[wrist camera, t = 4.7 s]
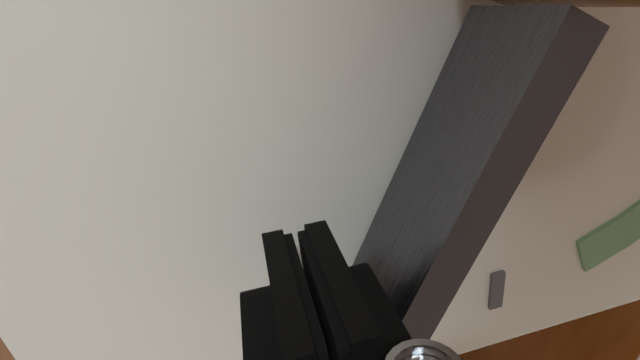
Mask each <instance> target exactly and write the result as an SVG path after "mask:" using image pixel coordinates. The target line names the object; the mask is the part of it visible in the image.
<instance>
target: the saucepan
mask: <svg viewBox="0 0 640 360" xmlns="http://www.w3.org/2000/svg"><path fill="white" fill-rule="evenodd" d="M492 1H495V2H497V3H499V4H502V5H471V6H470V9H469V11H468V13H467V15H466V17H465V19H464V22H463V24H462V26H461V28H460V30H459V33H458V35H457V37H456V39H455V41H454V44H453V46H452V48H451V50H450V52H449V55H448V57H447V59H446V61H445V63H444V65H443V68H442V70H441V72H440V74H439V76H438V79H437V81H436V83H435V85H434V87H433V90H432V92H431V94H430V96H429V98H428V101H427V103H426V105H425V107H424V109H423V111H422V114H421V116H420V118H419V120H418V122H417V125H416V127H415V129H414V131H413V133H412V136H411V138H410V140H409V142H408V144H407V147H406V149H405V151H404V153H403V155H402V157H401V160H400V162H399V164H398V166H397V168H396V171H395V173H394V175H393V177H392V179H391V182H390V184H389V186H388V188H387V190H386V193H385V195H384V197H383V199H382V201H381V203H380V206H379V208H378V210H377V212H376V214H375V217H374V219H373V221H372V223H371V225H370V228H369V230H368V232H367V234H366V236H365V239H364V241H363V243H362V245H361V247H360V249H359V252H358V254H357V256H356V258H355V260H354V263H353V265H357V264H361V263H368V264H369V266H370V267H371V269H372V271H373V272H374V274H375V276H376V277H377V279H378V281H379V283H380V284H381V286H382V288H383V289H384V291H385V293H386V295H387V296H388V298H389V300H390V301H391V303H392V305H393V307H394V308H395V310H396V312H397V313H398V315H399V317H400V319H401V320H402V322H403V324H404V326H405V327H406V329H407V331H408V332H409V334H410V336H411V338H412V339H429V340H430V338H431V337H432V335H433V333H434V331H435V330H436V328H437V326H438V324H439V323H440V321H441V319H442V317H443V316H444V314H445V312H446V310H447V309H448V307H449V305H450V304H451V302H452V300H453V298H454V297H455V295H456V293H457V291H458V290H459V288H460V286H461V284H462V283H463V281H464V279H465V277H466V276H467V274H468V272H469V271H470V269H471V267H472V265H473V264H474V262H475V260H476V258H477V257H478V255H479V253H480V251H481V250H482V248H483V246H484V245H485V243H486V241H487V239H488V238H489V236H490V234H491V232H492V231H493V229H494V227H495V225H496V224H497V222H498V220H499V218H500V217H501V215H502V213H503V212H504V210H505V208H506V206H507V205H508V203H509V201H510V199H511V198H512V196H513V194H514V192H515V191H516V189H517V187H518V185H519V184H520V182H521V180H522V179H523V177H524V175H525V173H526V172H527V170H528V168H529V166H530V165H531V163H532V161H533V159H534V158H535V156H536V154H537V153H538V151H539V149H540V147H541V146H542V144H543V142H544V140H545V139H546V137H547V135H548V133H549V132H550V130H551V128H552V126H553V125H554V123H555V121H556V120H557V118H558V116H559V114H560V113H561V111H562V109H563V107H564V106H565V104H566V102H567V100H568V99H569V97H570V95H571V93H572V92H573V90H574V88H575V87H576V85H577V83H578V81H579V80H580V78H581V76H582V74H583V73H584V71H585V69H586V67H587V66H588V64H589V62H590V60H591V59H592V57H593V55H594V54H595V52H596V50H597V48H598V47H599V45H600V43H601V41H602V40H603V38H604V36H605V34H606V33H607V31H608V29H609V28H610V26H609V25H607V24H605V23H603V22H602V21H600V20H598V19H596V18H595V17H593V16H591V15H589V14H587V13H586V12H584V11H582V10H580V9H579V8H577V7H640V0H492ZM353 265H352V266H353Z"/></svg>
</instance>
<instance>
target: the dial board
mask: <svg viewBox="0 0 640 360" xmlns="http://www.w3.org/2000/svg"><path fill="white" fill-rule="evenodd" d="M471 5H502V4H499V3H497V2H495V1H492V0H0V337H1V339H2V340H3V342H4V343H5V345H6V346H7V348H8V349H9V351H10V352H11V353H12V355H13V356H14V358H15V359H16V360H243V351H242V332H241V313H240V292H243V291H248V290H252V289H256V288H260V287H264V286H269V285H270V282H269V276H268V270H267V264H266V258H265V252H264V246H263V240H262V233H267V232H271V231H276V230H281V229H282V230H283V233H284V234H289V233H292V235H293V238H294V241H295V245H296V248H297V251H298V254H299V258H300V261H301V264H302V260H301V253H300V247H299V241H298V234H297V232H298V231H303V230H304V224H309V223H313V222H318V221H323V220H325V221H326V222H327V224H328V226H329V228H330V230H331V232H332V234H333V236H334V238H335V240H336V243H337V245H338V247H339V249H340V251H341V253H342V255H343V257H344V259H345V261H346V263H347V265H348V267H349V266H352V265H353V263H354V260H355V258H356V256H357V254H358V252H359V249H360V247H361V245H362V243H363V241H364V239H365V236H366V234H367V232H368V230H369V228H370V225H371V223H372V221H373V219H374V217H375V214H376V212H377V210H378V208H379V206H380V203H381V201H382V199H383V197H384V195H385V193H386V190H387V188H388V186H389V184H390V182H391V179H392V177H393V175H394V173H395V171H396V168H397V166H398V164H399V162H400V160H401V157H402V155H403V153H404V151H405V149H406V147H407V144H408V142H409V140H410V138H411V136H412V133H413V131H414V129H415V127H416V125H417V122H418V120H419V118H420V116H421V114H422V111H423V109H424V107H425V105H426V103H427V101H428V98H429V96H430V94H431V92H432V90H433V87H434V85H435V83H436V81H437V79H438V76H439V74H440V72H441V70H442V68H443V65H444V63H445V61H446V59H447V57H448V55H449V52H450V50H451V48H452V46H453V44H454V41H455V39H456V37H457V35H458V33H459V30H460V28H461V26H462V24H463V22H464V19H465V17H466V15H467V13H468V11H469V9H470V6H471ZM577 8H579V9H580V10H582V11H584V12H586V13H587V14H589V15H591V16H593V17H595V18H596V19H598V20H600V21H602V22H603V23H605V24H607V25H609V26H610V28H609V29H608V31H607V33H606V34H605V36H604V38H603V40H602V41H601V43H600V45H599V47H598V48H597V50H596V52H595V54H594V55H593V57H592V59H591V60H590V62H589V64H588V66H587V67H586V69H585V71H584V73H583V74H582V76H581V78H580V80H579V81H578V83H577V85H576V87H575V88H574V90H573V92H572V93H571V95H570V97H569V99H568V100H567V102H566V104H565V106H564V107H563V109H562V111H561V113H560V114H559V116H558V118H557V120H556V121H555V123H554V125H553V126H552V128H551V130H550V132H549V133H548V135H547V137H546V139H545V140H544V142H543V144H542V146H541V147H540V149H539V151H538V153H537V154H536V156H535V158H534V159H533V161H532V163H531V165H530V166H529V168H528V170H527V172H526V173H525V175H524V177H523V179H522V180H521V182H520V184H519V185H518V187H517V189H516V191H515V192H514V194H513V196H512V198H511V199H510V201H509V203H508V205H507V206H506V208H505V210H504V212H503V213H502V215H501V217H500V218H499V220H498V222H497V224H496V225H495V227H494V229H493V231H492V232H491V234H490V236H489V238H488V239H487V241H486V243H485V245H484V246H483V248H482V250H481V251H480V253H479V255H478V257H477V258H476V260H475V262H474V264H473V265H472V267H471V269H470V271H469V272H468V274H467V276H466V277H465V279H464V281H463V283H462V284H461V286H460V288H459V290H458V291H457V293H456V295H455V297H454V298H453V300H452V302H451V304H450V305H449V307H448V309H447V310H446V312H445V314H444V316H443V317H442V319H441V321H440V323H439V324H438V326H437V328H436V330H435V331H434V333H433V335H432V337H431V338H430V340H433V341H437V342H440V343H442V344H444V345H446V346H448V347H450V348H451V349H452V350H453V351H454V352H456V353H457V354H458V355H459V354H463V353H466V352H469V351H473V350H476V349H479V348H482V347H486V346H489V345H492V344H496V343H499V342H502V341H505V340H509V339H512V338H515V337H519V336H522V335H525V334H529V333H532V332H535V331H538V330H542V329H545V328H548V327H552V326H555V325H558V324H561V323H565V322H568V321H571V320H575V319H578V318H581V317H584V316H588V315H591V314H594V313H598V312H601V311H604V310H608V309H611V308H614V307H617V306H621V305H624V304H627V303H631V302H634V301H637V300H640V7H577ZM302 267H303V266H302Z"/></svg>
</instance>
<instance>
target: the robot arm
mask: <svg viewBox="0 0 640 360" xmlns="http://www.w3.org/2000/svg"><path fill="white" fill-rule="evenodd" d="M297 234H298V241H299V247H300V253H301V260H302V264H301V261H300V258H299V254H298V251H297V248H296V245H295V241H294V238H293V235H292V233H289V234H284V233H283V230H282V229H281V230H276V231H271V232H267V233H262V240H263V246H264V252H265V258H266V264H267V270H268V276H269V282H270V285H269V286H264V287H260V288H256V289H252V290H248V291H243V292H240V313H241V332H242V351H243V360H463V359H462V358H461V357H460V356H459V355H458V354H457V353H456V352H454V351H453V350H452V349H451V348H450V347H448V346H446V345H444V344H442V343H440V342H437V341H433V340H429V339H412V338H411V336H410V334H409V332H408V331H407V329H406V327H405V326H404V324H403V322H402V320H401V319H400V317H399V315H398V313H397V312H396V310H395V308H394V307H393V305H392V303H391V301H390V300H389V298H388V296H387V295H386V293H385V291H384V289H383V288H382V286H381V284H380V283H379V281H378V279H377V277H376V276H375V274H374V272H373V271H372V269H371V267H370V266H369V264H368V263H361V264H357V265H353V266H349V267H348V265H347V263H346V261H345V259H344V257H343V255H342V253H341V251H340V249H339V247H338V245H337V243H336V240H335V238H334V236H333V234H332V232H331V230H330V228H329V226H328V224H327V222H326V221H325V220H323V221H318V222H313V223H309V224H304V230H303V231H298V232H297ZM302 266H303V267H302Z"/></svg>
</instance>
